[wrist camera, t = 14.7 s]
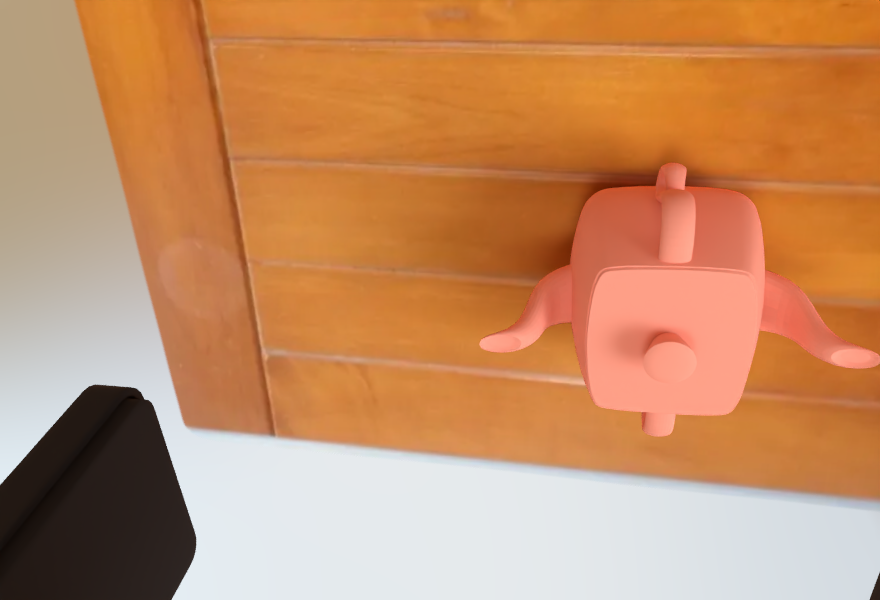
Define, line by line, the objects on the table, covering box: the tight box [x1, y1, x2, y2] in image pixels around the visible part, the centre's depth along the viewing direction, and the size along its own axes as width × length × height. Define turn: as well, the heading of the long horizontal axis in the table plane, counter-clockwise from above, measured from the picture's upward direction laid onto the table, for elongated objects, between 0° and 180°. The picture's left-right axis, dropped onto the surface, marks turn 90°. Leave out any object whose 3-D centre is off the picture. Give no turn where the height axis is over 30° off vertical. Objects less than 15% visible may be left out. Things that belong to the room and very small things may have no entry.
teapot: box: [480, 163, 880, 436], centre depth 49 cm, size 15×17×13 cm
